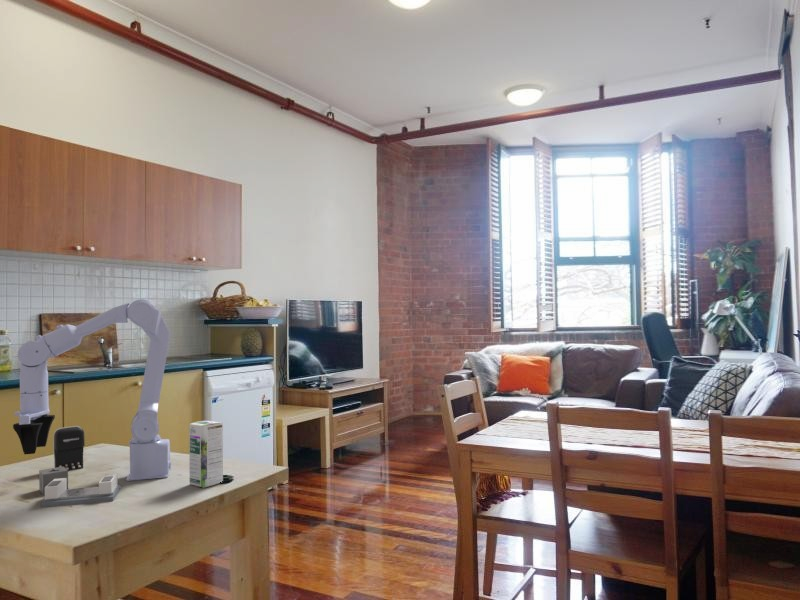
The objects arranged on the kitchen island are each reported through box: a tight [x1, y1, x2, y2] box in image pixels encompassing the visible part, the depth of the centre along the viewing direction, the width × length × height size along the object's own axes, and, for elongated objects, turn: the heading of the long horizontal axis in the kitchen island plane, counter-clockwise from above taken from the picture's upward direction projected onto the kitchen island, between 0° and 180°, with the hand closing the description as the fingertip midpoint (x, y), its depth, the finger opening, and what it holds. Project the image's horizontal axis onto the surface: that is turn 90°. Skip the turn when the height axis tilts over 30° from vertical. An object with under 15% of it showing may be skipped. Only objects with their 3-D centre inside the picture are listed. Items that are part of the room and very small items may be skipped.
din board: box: [40, 484, 122, 508], centre depth 133 cm, size 14×9×2 cm, turn 105°
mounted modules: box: [44, 473, 119, 499], centre depth 133 cm, size 13×7×3 cm, turn 105°
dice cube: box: [38, 466, 69, 496], centre depth 139 cm, size 5×5×5 cm
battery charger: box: [52, 425, 86, 472], centre depth 157 cm, size 7×4×11 cm, turn 131°
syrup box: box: [188, 420, 224, 489], centre depth 143 cm, size 6×6×14 cm
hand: (35, 450), depth 141 cm, fingers open, 7 cm apart
